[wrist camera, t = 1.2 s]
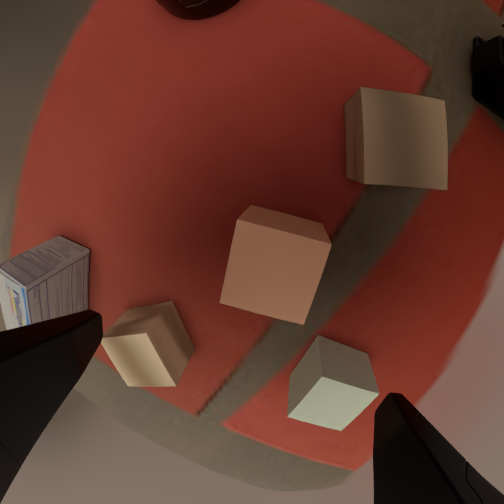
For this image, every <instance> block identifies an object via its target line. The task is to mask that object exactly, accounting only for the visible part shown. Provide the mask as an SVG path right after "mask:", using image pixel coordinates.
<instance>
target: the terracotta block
mask: <svg viewBox="0 0 504 504" xmlns="http://www.w3.org/2000/svg"><path fill="white" fill-rule="evenodd" d="M331 245H332V244H331V242H330V239H329V237H328V235H327V232H326V230H325V228H324V226H323V224H322V223H319V222H315V221H311V220H308V219H304V218H300V217H297V216H293V215H289V214H285V213H282V212H278V211H274V210H270V209H266V208H262V207H258V206H254V205H250V206H249V207H248V208H247V209H246V210H245V212H244V213H243V214H242V215H241V216H240V217H239V218H238V219H237V222H236V227H235V231H234V236H233V241H232V245H231V250H230V255H229V260H228V264H227V269H226V274H225V279H224V284H223V289H222V294H221V299H220V303H221V304H225V305H229V306H232V307H236V308H239V309H243V310H247V311H250V312H254V313H258V314H262V315H266V316H270V317H273V318H277V319H281V320H285V321H290V322H294V323H298V324H302V325H304V323H305V320H306V317H307V315H308V312H309V309H310V307H311V304H312V301H313V298H314V296H315V293H316V290H317V287H318V284H319V281H320V278H321V276H322V273H323V270H324V267H325V264H326V261H327V258H328V255H329V252H330V248H331Z"/></svg>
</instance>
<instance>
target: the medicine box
mask: <svg viewBox="0 0 504 504" xmlns="http://www.w3.org/2000/svg"><path fill="white" fill-rule="evenodd" d="M89 253H90V250H89V249H88V248H85V247H83V246H81V245H79V244H77V243H75V242H72V241H70V240H68V239H66V238H64V237H62V236H57V237H55V238H52V239H50V240H48V241H46V242H44V243H42V244H39V245H37V246H35V247H33V248H31V249H29V250H27V251H25V252H23V253H21V254H19V255H17V256H15V257H13V258H11V259H9V260H7V261H5V262H3V263H1V264H0V303H1V308H2V313H3V317H4V321H5V325H6V329H7V330H9V329H13V328H17V327H21V326H25V325H29V324H33V323H37V322H41V321H45V320H49V319H53V318H57V317H61V316H65V315H69V314H73V313H77V312H81V311H84V310H88V273H89Z"/></svg>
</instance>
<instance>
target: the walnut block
mask: <svg viewBox="0 0 504 504" xmlns="http://www.w3.org/2000/svg"><path fill="white" fill-rule="evenodd" d="M344 113H345V134H346V178H348V179H351V180H354V181H357V182H360V183H363V184H375V185H392V186H406V187H418V188H429V189H439V190H447V179H448V142H447V122H446V109H445V101H443V100H438V99H434V98H429V97H424V96H419V95H414V94H408V93H402V92H396V91H389V90H382V89H373V88H364V87H360V88H359V89H358V90H357V92H356V93H355V94H354V95H353V96H352V97H351V98H350V99H349V100H348V101H347V102H346V103H345V104H344Z"/></svg>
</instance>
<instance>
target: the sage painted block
mask: <svg viewBox="0 0 504 504" xmlns="http://www.w3.org/2000/svg"><path fill="white" fill-rule="evenodd" d="M378 395H379V391H378V387H377V384H376V380H375V377H374V373H373V370H372V366H371V363H370V360H369V356H368V354H367V353H365V352H362V351H359V350H356V349H354V348H351V347H348V346H346V345H343V344H340V343H338V342H335V341H333V340H330V339H327V338H325V337H322V336H320V335H318V336H317V337H316V339H315V340H314V342H313V343H312V345H311V346H310V348H309V349H308V350H307V352H306V353H305V355H304V356H303V358H302V359H301V360H300V362H299V363H298V365H297V366H296V367H295V369H294V370H293V372H292V373H291V374H290V380H289V397H288V412H287V417H290V418H293V419H297V420H300V421H304V422H307V423H311V424H315V425H319V426H323V427H327V428H331V429H336V430H340V431H342V430H343V429H344V428H345V427H346V426H347V425H348V424H349V423H350V422H351V421H352V420H354V419H355V418H356V417H357V416H358V415H359V414H360V413H361V412H362V411H363V410H364V409H365V408H366V407H367V406H368V405H369V404H370V403H371V402H372V401H373V400H374V399H375V398H376V397H377V396H378Z"/></svg>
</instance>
